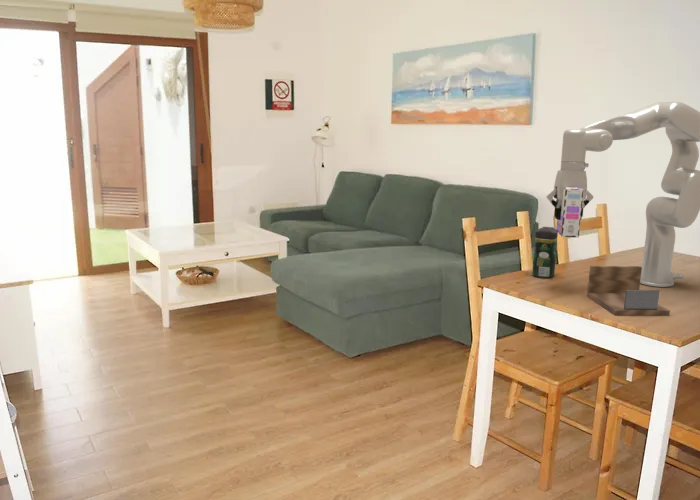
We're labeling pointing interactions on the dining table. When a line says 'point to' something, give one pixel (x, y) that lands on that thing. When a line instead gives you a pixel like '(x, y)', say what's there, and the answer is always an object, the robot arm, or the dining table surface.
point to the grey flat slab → (641, 299)
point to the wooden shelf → (617, 288)
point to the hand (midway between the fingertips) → (568, 218)
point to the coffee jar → (545, 252)
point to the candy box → (570, 212)
